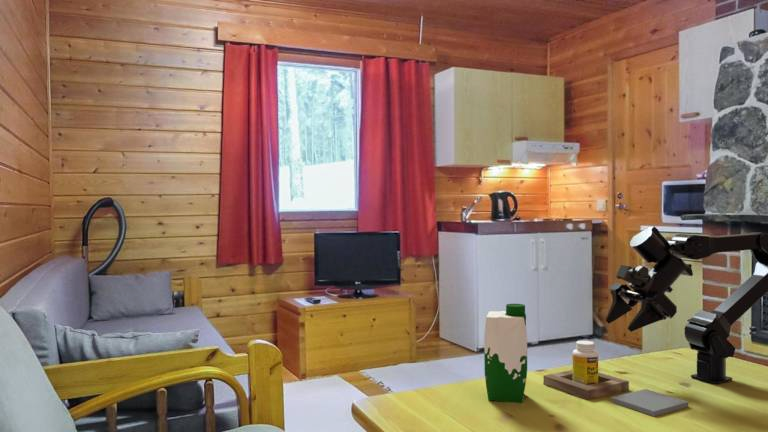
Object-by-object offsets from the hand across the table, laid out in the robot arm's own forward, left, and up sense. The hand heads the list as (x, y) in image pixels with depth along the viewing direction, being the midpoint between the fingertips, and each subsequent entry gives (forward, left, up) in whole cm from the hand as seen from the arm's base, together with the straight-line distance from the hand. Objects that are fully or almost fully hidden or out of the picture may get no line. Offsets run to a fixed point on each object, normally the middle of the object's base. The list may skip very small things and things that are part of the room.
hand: (617, 326), depth 135 cm
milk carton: (+28, -7, -14) cm, 32 cm away
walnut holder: (+8, -3, -14) cm, 16 cm away
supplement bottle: (+8, -3, -14) cm, 16 cm away
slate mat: (+6, +12, -14) cm, 19 cm away
